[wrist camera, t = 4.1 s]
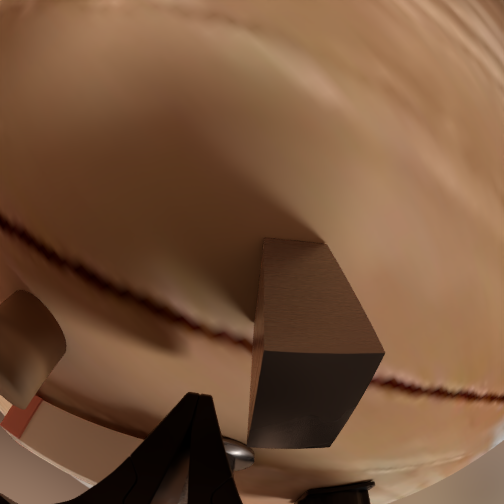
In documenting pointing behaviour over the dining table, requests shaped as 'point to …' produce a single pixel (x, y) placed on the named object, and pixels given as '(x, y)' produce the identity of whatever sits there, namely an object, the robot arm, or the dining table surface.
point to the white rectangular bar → (68, 440)
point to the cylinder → (27, 347)
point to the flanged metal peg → (237, 459)
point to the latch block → (306, 348)
